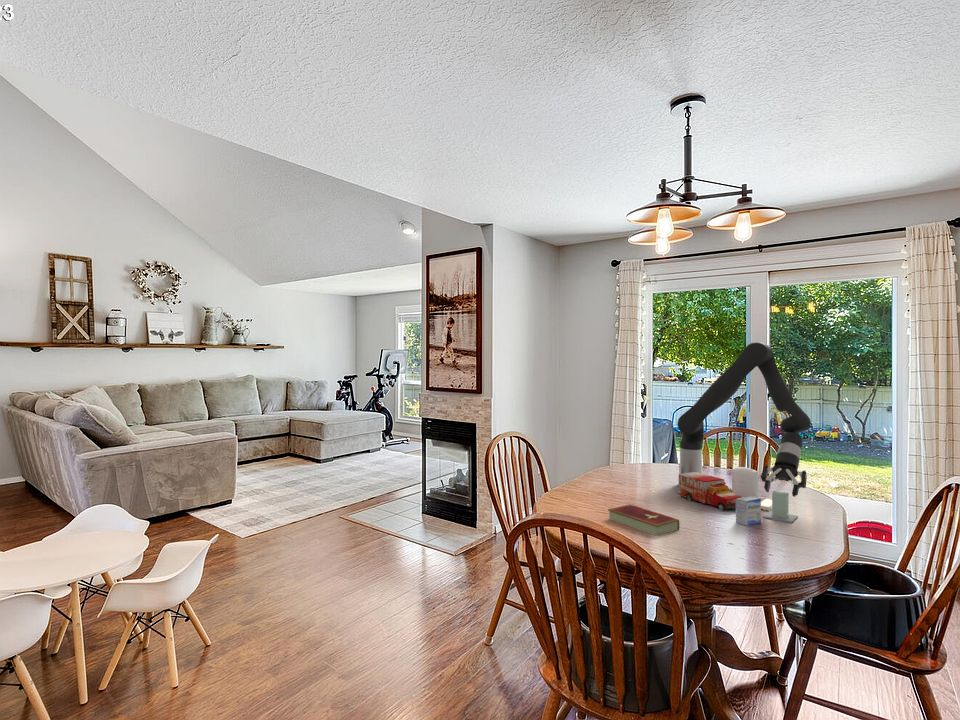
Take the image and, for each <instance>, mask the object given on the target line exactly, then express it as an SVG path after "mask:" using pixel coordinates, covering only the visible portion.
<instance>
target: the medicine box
mask: <svg viewBox="0 0 960 720" xmlns="http://www.w3.org/2000/svg"><path fill="white" fill-rule="evenodd" d="M761 502H762V499H761V498H760V497H759V498H757V497H752V496H748V497H742V498H738V499H736V509H735V523H736V524H740V525H743V526H745V527H746V526H747V527H748V526H749V525H750V526H753V525H757V524H760V523H762V510H761Z"/></svg>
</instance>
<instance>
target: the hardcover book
mask: <svg viewBox="0 0 960 720" xmlns="http://www.w3.org/2000/svg"><path fill="white" fill-rule="evenodd" d="M607 511H609V514H608V515H609V517H608V518H609V520H611V521H614V522H617V523H620V524H622V525H625V526H628V527H631V528H634V529H637V530H639V531H642V532H645V533H648V534H650V535H653V536H660V535H663V534H667V533H671V532H673V531H676V530H680V519H679V518H676V517H672V516H669V515H665V514H662V513H659V512H656V511H652V510H650V509H646V508H642V507H640V506H637V505H633V504H625V505H621V506H617V507H613V508H608V509H607Z"/></svg>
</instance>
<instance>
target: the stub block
mask: <svg viewBox="0 0 960 720" xmlns="http://www.w3.org/2000/svg"><path fill="white" fill-rule="evenodd" d="M771 492H772V493H771V495H772V496H771V497H772V498H771V500H772V515H773V516H778V517H783V518H787V517H788V516H789V514H790V513H789V492H784V491H779V490H773V491H771Z"/></svg>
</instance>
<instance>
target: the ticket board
mask: <svg viewBox="0 0 960 720" xmlns="http://www.w3.org/2000/svg"><path fill="white" fill-rule="evenodd" d="M761 509H763V510H762V511H766V510H768V512H769V511H772V498H771V499H770V498H765V499H763V500H761Z"/></svg>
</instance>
